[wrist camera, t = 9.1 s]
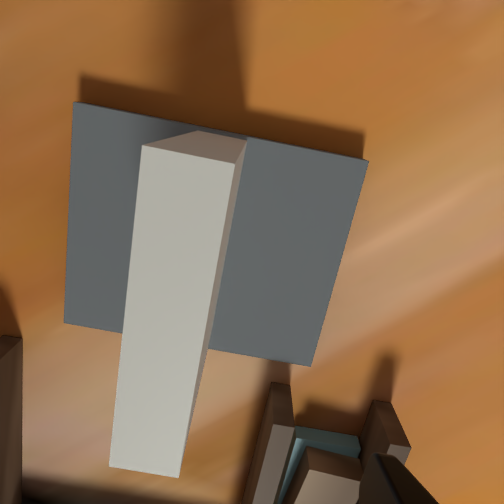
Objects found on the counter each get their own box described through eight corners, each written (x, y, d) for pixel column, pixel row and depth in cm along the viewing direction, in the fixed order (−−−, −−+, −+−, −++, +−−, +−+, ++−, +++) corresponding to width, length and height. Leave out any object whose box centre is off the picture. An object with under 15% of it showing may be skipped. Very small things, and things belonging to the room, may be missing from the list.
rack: (5, 516, 25) (-29, 569, 22) (2, 335, 20) (-39, 370, 18) (329, 567, 26) (338, 624, 23) (391, 403, 21) (411, 447, 18)
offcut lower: (268, 506, 25) (269, 530, 23) (294, 417, 23) (296, 438, 21) (324, 516, 25) (327, 540, 24) (354, 428, 23) (360, 449, 21)
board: (169, 325, 19) (108, 466, 11) (198, 130, 16) (142, 144, 8) (211, 333, 19) (178, 478, 11) (247, 140, 16) (235, 164, 9)
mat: (73, 313, 20) (63, 323, 19) (83, 102, 17) (73, 101, 16) (308, 355, 20) (310, 366, 20) (363, 158, 17) (369, 161, 16)
